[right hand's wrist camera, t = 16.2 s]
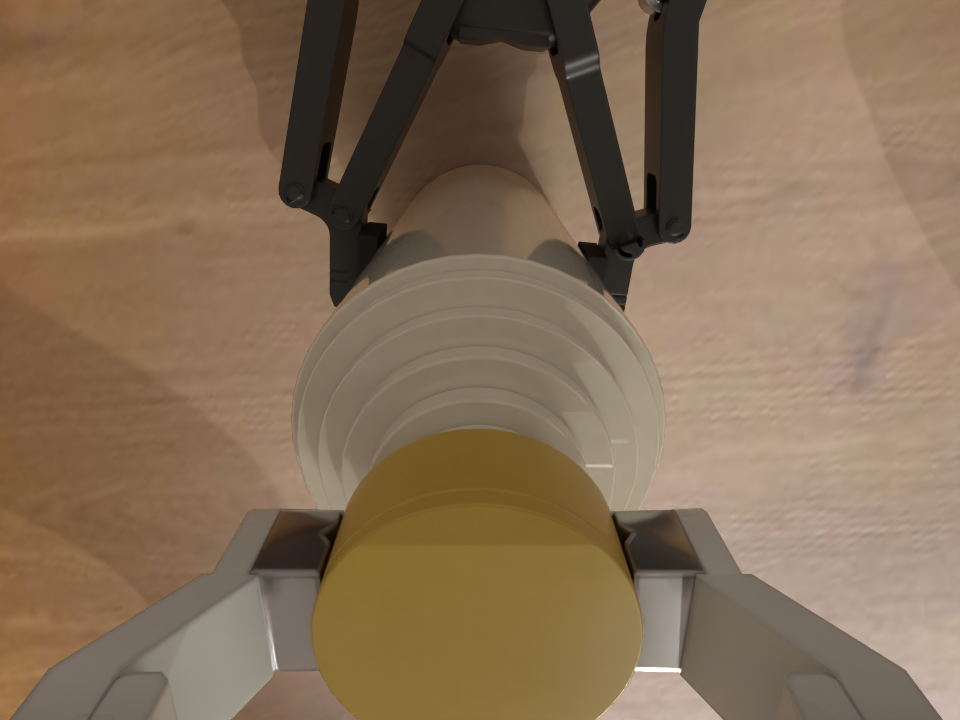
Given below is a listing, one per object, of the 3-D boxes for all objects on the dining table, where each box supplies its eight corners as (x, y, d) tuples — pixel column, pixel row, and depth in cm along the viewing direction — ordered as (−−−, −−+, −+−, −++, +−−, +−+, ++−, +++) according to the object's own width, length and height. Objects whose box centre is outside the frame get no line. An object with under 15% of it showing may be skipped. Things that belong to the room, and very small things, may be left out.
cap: (285, 505, 10) (241, 596, 8) (533, 376, 9) (546, 444, 7) (433, 684, 11) (423, 796, 10) (658, 586, 11) (696, 688, 9)
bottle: (367, 218, 31) (56, 535, 8) (510, 131, 30) (612, 223, 7) (452, 350, 34) (393, 869, 11) (587, 276, 32) (850, 698, 9)
